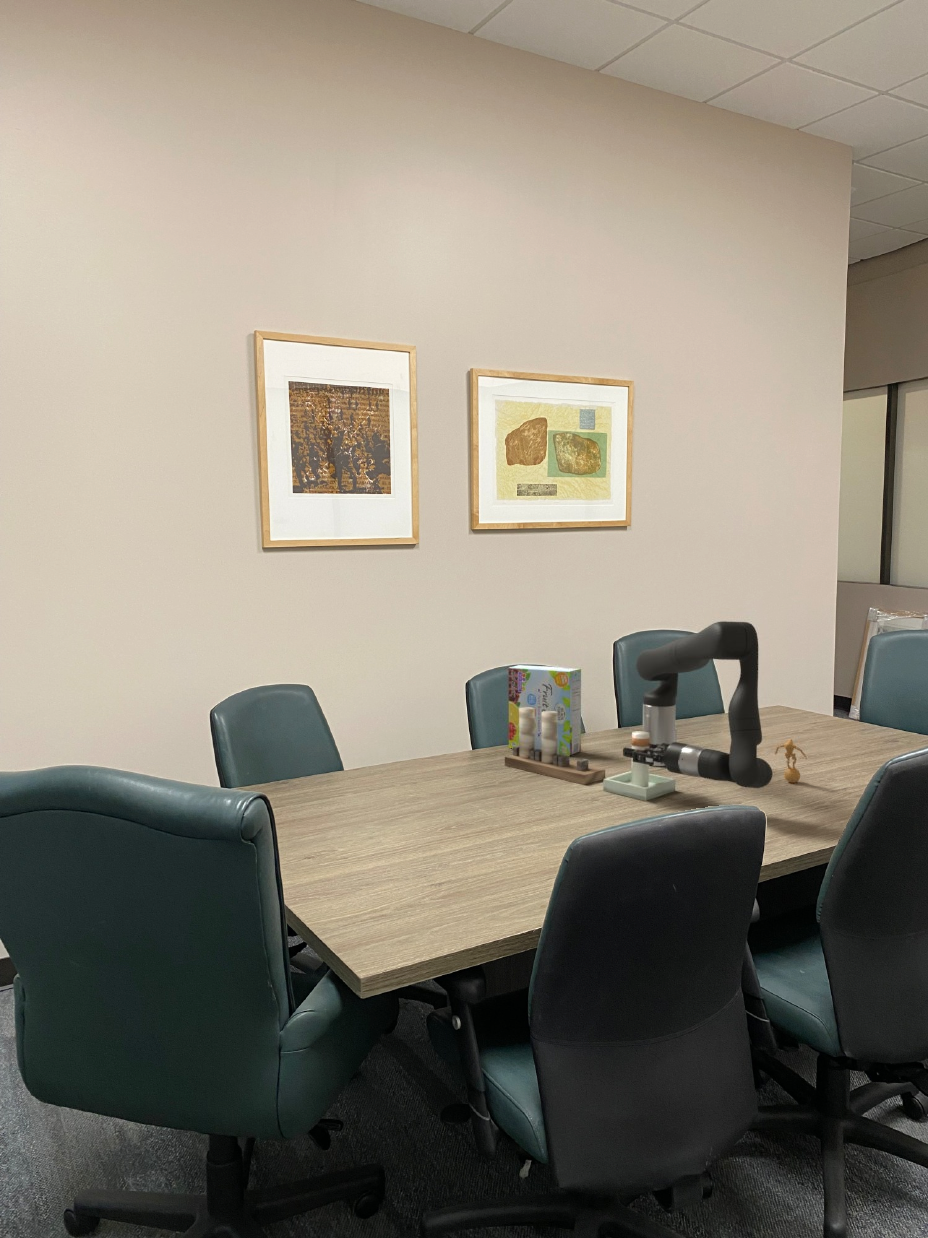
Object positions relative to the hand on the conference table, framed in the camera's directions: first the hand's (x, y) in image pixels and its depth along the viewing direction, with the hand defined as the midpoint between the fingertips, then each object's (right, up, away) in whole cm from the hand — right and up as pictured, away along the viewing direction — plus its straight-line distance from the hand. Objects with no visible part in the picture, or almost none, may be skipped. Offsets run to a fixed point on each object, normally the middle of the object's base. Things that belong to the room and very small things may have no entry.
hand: (633, 749), depth 226 cm
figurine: (+43, -10, +6) cm, 44 cm away
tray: (+2, -11, -1) cm, 11 cm away
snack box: (-19, -7, +45) cm, 49 cm away
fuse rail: (-19, -9, +19) cm, 28 cm away
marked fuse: (+2, -10, -1) cm, 10 cm away
